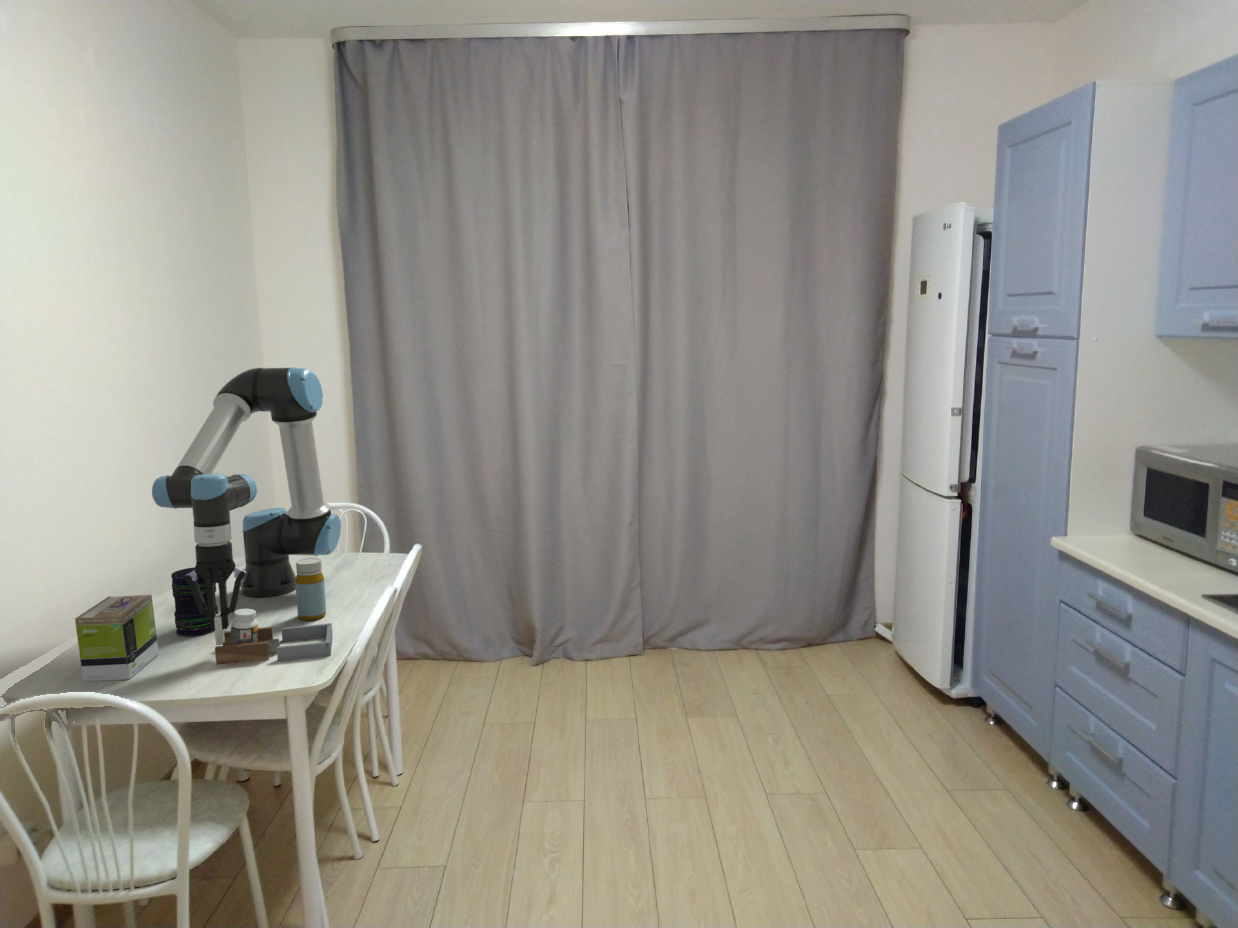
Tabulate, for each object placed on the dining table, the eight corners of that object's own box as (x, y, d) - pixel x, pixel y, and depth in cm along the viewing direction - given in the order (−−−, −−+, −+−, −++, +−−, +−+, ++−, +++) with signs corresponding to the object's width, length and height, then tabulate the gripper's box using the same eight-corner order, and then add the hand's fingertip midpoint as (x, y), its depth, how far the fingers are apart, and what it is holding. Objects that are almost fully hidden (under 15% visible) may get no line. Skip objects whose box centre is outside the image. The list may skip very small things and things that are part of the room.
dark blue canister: (211, 620, 226) (206, 564, 224) (225, 629, 219) (221, 572, 217) (170, 630, 219) (164, 572, 217) (183, 639, 212) (178, 580, 210)
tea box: (114, 656, 202) (108, 594, 200) (160, 654, 203) (154, 593, 201) (80, 682, 187) (73, 616, 185) (129, 680, 188) (123, 614, 186)
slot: (223, 647, 207) (222, 631, 206) (273, 642, 210) (272, 626, 209) (216, 665, 196) (214, 648, 196) (268, 659, 199) (267, 642, 199)
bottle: (317, 621, 225) (313, 565, 222) (292, 620, 226) (288, 563, 224) (331, 613, 231) (327, 558, 229) (307, 611, 233) (303, 556, 230)
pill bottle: (259, 655, 202) (260, 614, 201) (232, 658, 199) (234, 616, 198) (254, 646, 207) (255, 606, 205) (228, 649, 204) (229, 608, 202)
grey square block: (261, 650, 206) (260, 640, 205) (279, 648, 207) (279, 638, 206) (260, 656, 202) (259, 646, 201) (279, 654, 203) (278, 644, 203)
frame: (282, 639, 212) (281, 627, 211) (332, 634, 215) (331, 623, 215) (277, 660, 199) (276, 648, 198) (330, 655, 202) (330, 642, 201)
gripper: (178, 548, 192) (186, 651, 196) (242, 544, 196) (248, 645, 199) (185, 540, 199) (192, 640, 203) (246, 537, 203) (252, 634, 206)
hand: (220, 642), depth 201 cm, fingers closed
